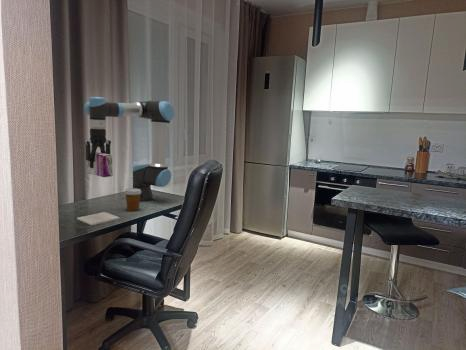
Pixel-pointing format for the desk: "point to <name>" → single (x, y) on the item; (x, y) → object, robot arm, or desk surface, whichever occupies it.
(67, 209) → the desk surface
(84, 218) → the rubber mat
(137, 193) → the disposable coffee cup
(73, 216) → the desk surface
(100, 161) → the candy bar box
